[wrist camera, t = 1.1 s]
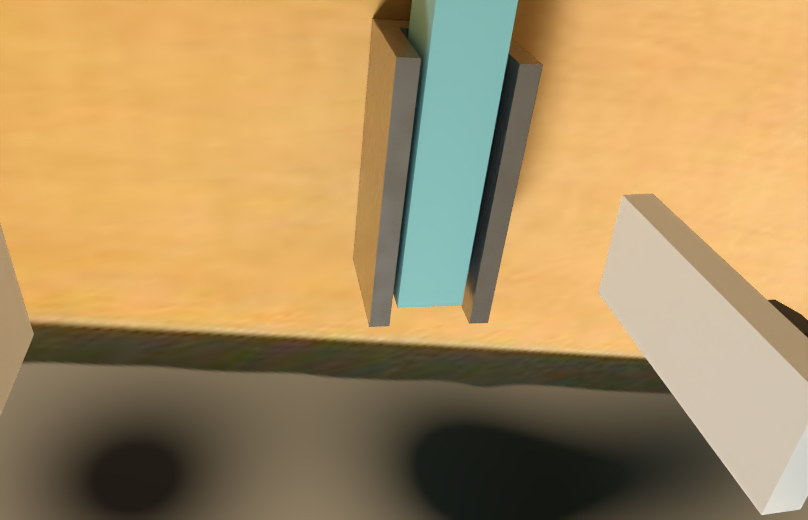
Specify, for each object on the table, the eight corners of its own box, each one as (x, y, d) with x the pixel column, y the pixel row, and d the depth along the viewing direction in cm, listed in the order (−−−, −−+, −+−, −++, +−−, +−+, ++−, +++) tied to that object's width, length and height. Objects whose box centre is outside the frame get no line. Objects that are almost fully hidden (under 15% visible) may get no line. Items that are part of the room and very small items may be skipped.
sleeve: (353, 259, 47) (369, 326, 41) (372, 18, 39) (396, 57, 32) (457, 258, 49) (487, 322, 42) (497, 26, 40) (542, 64, 34)
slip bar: (383, 262, 45) (397, 307, 41) (435, -216, 32) (463, -220, 27) (442, 261, 46) (461, 305, 42) (517, -204, 32) (556, -207, 28)
